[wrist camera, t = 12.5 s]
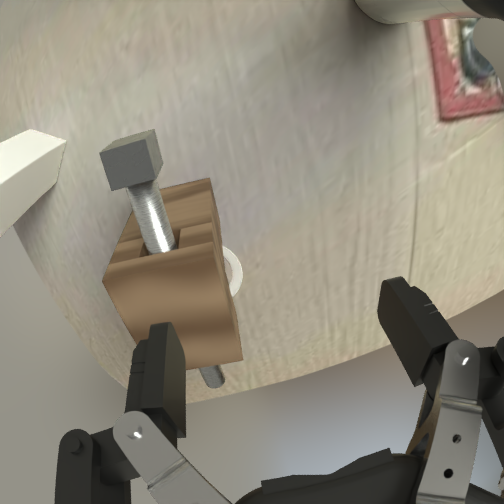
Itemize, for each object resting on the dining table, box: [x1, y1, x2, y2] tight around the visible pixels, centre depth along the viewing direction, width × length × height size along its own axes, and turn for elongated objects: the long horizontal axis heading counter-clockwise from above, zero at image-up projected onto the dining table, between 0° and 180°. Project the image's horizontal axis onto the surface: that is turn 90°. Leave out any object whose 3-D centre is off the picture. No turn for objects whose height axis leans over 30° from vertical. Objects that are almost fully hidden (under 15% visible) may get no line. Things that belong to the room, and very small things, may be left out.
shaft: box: [100, 129, 225, 388], centre depth 29 cm, size 29×4×4 cm, turn 9°
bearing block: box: [102, 178, 243, 370], centre depth 33 cm, size 12×9×18 cm
